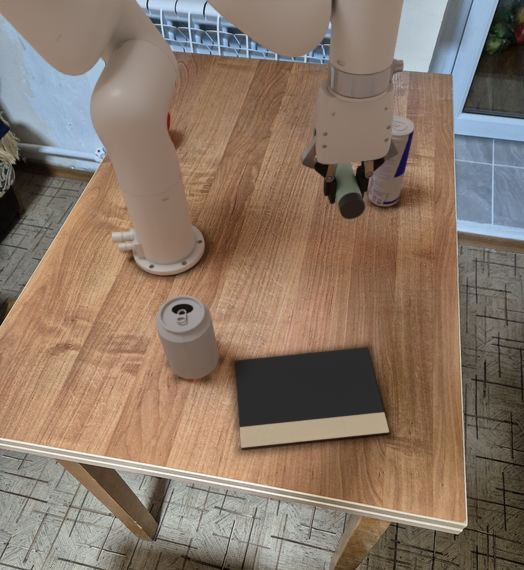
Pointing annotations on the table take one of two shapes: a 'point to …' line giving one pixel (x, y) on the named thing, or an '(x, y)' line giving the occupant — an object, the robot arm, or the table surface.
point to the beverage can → (392, 166)
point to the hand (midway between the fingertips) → (344, 195)
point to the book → (308, 398)
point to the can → (187, 336)
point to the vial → (348, 192)
